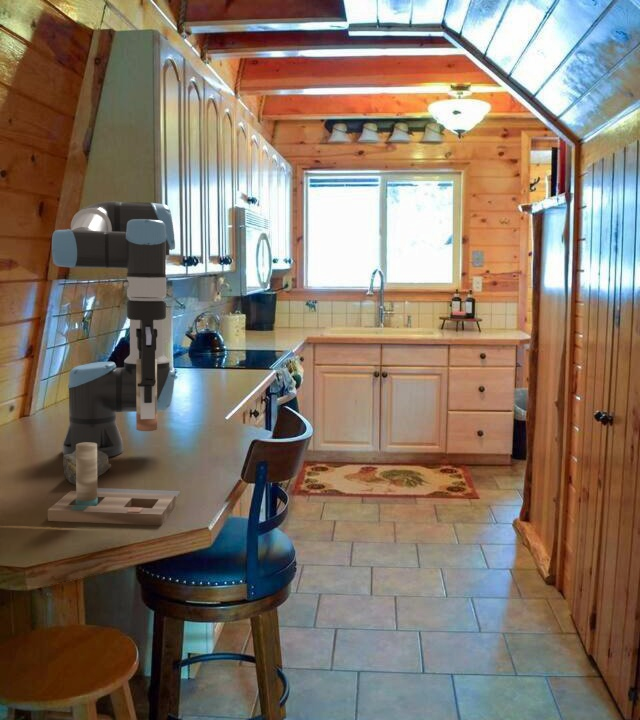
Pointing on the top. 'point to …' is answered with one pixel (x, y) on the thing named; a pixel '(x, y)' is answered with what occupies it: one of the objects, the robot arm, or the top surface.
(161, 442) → the top surface
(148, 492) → the mat
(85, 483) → the peg
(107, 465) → the rock
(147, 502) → the socket board
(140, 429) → the peg
